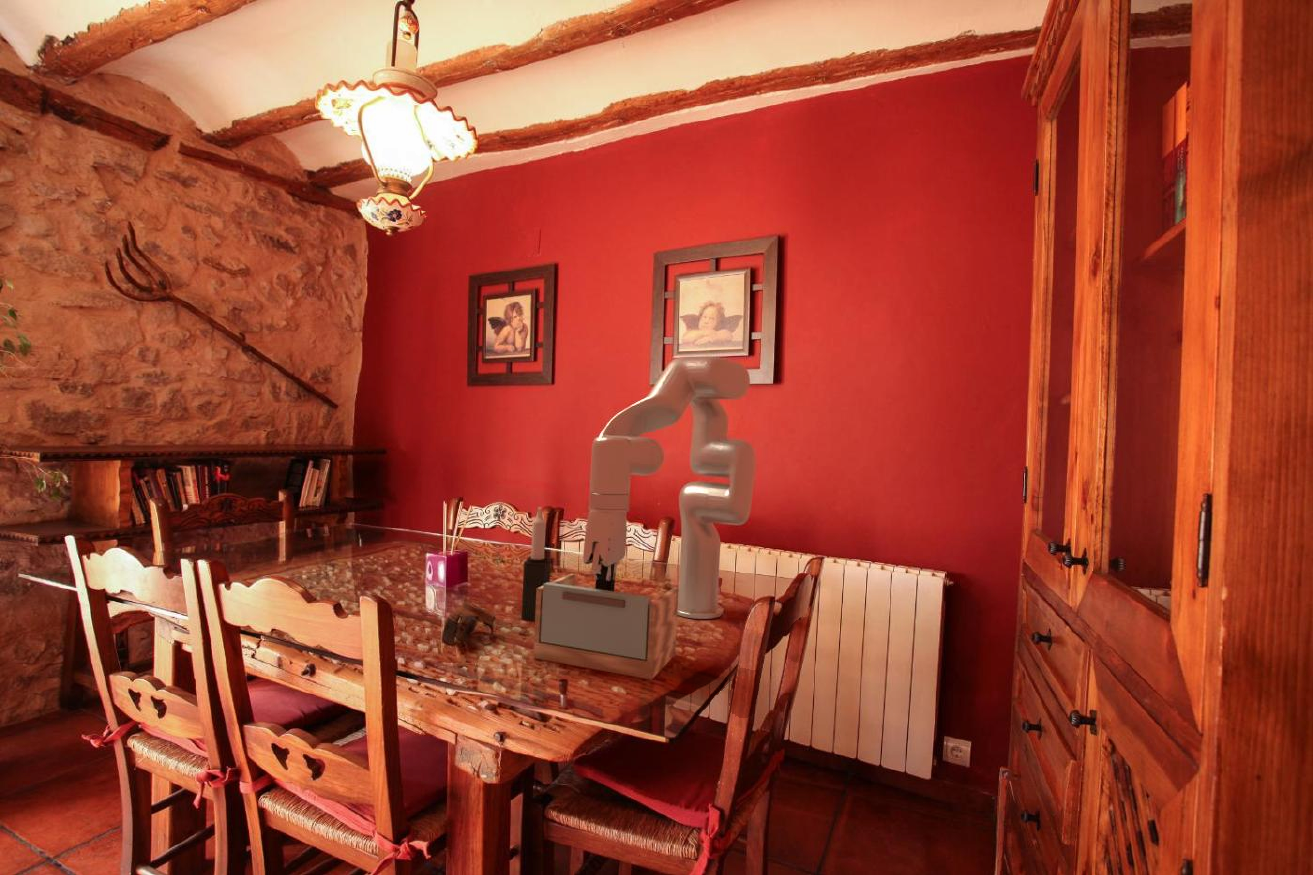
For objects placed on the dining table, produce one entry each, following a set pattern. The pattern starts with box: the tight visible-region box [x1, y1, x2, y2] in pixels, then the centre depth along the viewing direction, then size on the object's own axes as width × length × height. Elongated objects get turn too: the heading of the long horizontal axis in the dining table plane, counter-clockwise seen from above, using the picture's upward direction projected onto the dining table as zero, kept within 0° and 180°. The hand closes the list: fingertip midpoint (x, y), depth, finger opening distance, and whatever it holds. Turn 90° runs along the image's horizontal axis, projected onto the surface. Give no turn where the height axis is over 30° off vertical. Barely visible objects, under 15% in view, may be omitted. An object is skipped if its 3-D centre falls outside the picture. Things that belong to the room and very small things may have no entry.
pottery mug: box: [441, 601, 496, 646], centre depth 124 cm, size 12×10×8 cm
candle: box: [520, 506, 552, 622], centre depth 141 cm, size 5×5×25 cm
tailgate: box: [541, 582, 652, 659], centre depth 113 cm, size 2×21×11 cm, turn 71°
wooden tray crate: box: [532, 573, 679, 680], centre depth 119 cm, size 14×23×13 cm, turn 71°
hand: (604, 600), depth 117 cm, fingers closed
